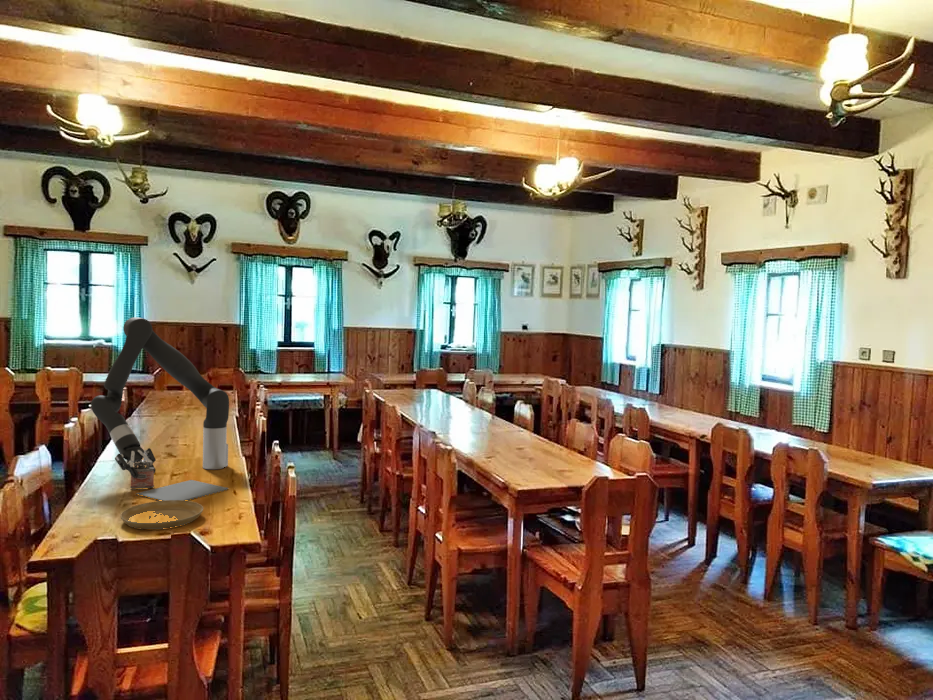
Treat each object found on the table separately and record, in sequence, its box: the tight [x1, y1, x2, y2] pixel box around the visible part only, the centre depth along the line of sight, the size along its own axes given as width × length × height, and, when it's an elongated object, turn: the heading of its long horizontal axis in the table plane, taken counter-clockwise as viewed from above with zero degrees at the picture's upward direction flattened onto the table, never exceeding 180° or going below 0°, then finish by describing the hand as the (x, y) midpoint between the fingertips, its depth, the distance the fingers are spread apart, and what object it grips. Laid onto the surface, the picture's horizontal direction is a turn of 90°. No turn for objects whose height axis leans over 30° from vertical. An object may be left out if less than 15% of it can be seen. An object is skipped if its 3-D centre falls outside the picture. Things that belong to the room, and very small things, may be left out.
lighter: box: [129, 461, 155, 489], centre depth 254 cm, size 8×3×10 cm, turn 105°
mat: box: [135, 479, 229, 501], centre depth 251 cm, size 24×20×1 cm
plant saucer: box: [120, 500, 204, 530], centre depth 219 cm, size 24×24×3 cm
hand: (145, 475), depth 253 cm, fingers closed on lighter, 6 cm apart
